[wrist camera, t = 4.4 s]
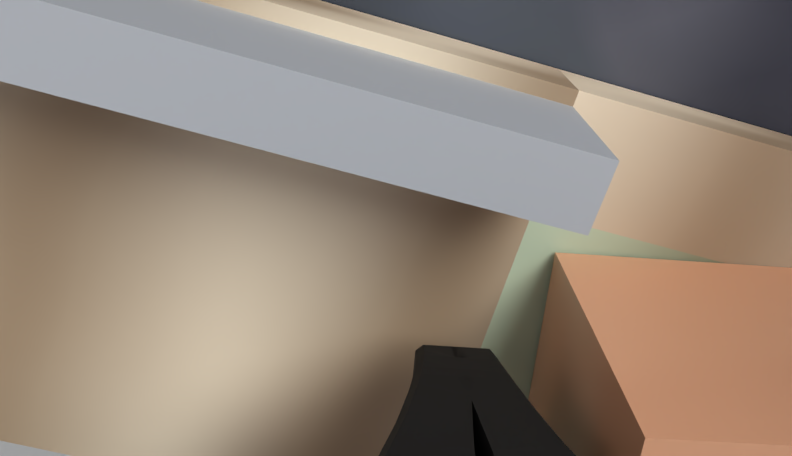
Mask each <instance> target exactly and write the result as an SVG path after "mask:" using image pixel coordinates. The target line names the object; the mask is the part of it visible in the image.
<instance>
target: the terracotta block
mask: <svg viewBox="0 0 792 456" xmlns="http://www.w3.org/2000/svg"><path fill="white" fill-rule="evenodd" d="M528 400H529V401H530V403H531V404H532V405H533V406H534V408H535V409H536V410H537V411H538V413H539V414H540V415H541V416H542V417H543V419H544V420H545V421H546V422H547V423H548V425H549V426H550V427H551V428H552V429H553V431H554V432H555V433H556V434H557V435H558V437H559V438H560V439H561V440H562V441H563V442H564V443H565V444H566V446H567V447H568V448H569V449H570V450H571V451H572V452H573V453H574V454H575V455H576V456H792V268H788V267H772V266H757V265H742V264H726V263H711V262H696V261H680V260H665V259H649V258H634V257H619V256H603V255H588V254H573V253H557V252H555V256H554V261H553V267H552V272H551V278H550V283H549V289H548V294H547V300H546V305H545V310H544V316H543V321H542V327H541V332H540V338H539V343H538V349H537V354H536V360H535V365H534V371H533V376H532V382H531V387H530V393H529V398H528Z"/></svg>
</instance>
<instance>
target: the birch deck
mask: <svg viewBox="0 0 792 456" xmlns="http://www.w3.org/2000/svg"><path fill="white" fill-rule="evenodd" d="M198 1H201V2H205V3H208V4H212V5H215V6H219V7H223V8H226V9H230V10H233V11H237V12H240V13H244V14H247V15H251V16H254V17H258V18H261V19H265V20H268V21H272V22H276V23H279V24H283V25H286V26H290V27H293V28H297V29H300V30H304V31H307V32H311V33H314V34H318V35H322V36H325V37H329V38H332V39H336V40H339V41H343V42H346V43H350V44H353V45H357V46H360V47H364V48H367V49H371V50H375V51H378V52H382V53H385V54H389V55H392V56H396V57H399V58H403V59H406V60H410V61H413V62H417V63H420V64H424V65H428V66H431V67H435V68H438V69H442V70H445V71H449V72H452V73H456V74H459V75H463V76H466V77H470V78H473V79H477V80H481V81H484V82H488V83H491V84H495V85H498V86H502V87H505V88H509V89H512V90H516V91H519V92H523V93H526V94H530V95H534V96H537V97H541V98H544V99H548V100H551V101H555V102H558V103H562V104H565V105H569V106H572V107H574V108H575V110H576V111H577V112H578V113H579V114H580V115H581V117H582V118H583V119H584V120H585V121H586V122H587V124H588V125H589V126H590V127H591V128H592V129H593V131H594V132H595V133H596V134H597V135H598V136H599V137H600V139H601V140H602V141H603V142H604V143H605V144H606V146H607V147H608V148H609V149H610V150H611V151H612V153H613V154H614V155H615V156H616V157H617V158H618V160H619V164H618V166H617V168H616V171H615V173H614V175H613V178H612V180H611V183H610V185H609V187H608V190H607V192H606V194H605V197H604V199H603V202H602V204H601V206H600V209H599V211H598V213H597V216H596V218H595V221H594V223H593V225H592V228H591V230H590V233H589V235H588V236H587V235H583V234H579V233H576V232H572V231H568V230H564V229H560V228H557V227H553V226H549V225H545V224H541V223H538V222H534V221H530V220H526V219H522V218H519V217H515V216H511V215H507V214H503V213H500V212H496V211H492V210H488V209H484V208H481V207H477V206H473V205H469V204H465V203H462V202H458V201H454V200H450V199H446V198H443V197H439V196H435V195H431V194H427V193H424V192H420V191H416V190H412V189H408V188H405V187H401V186H397V185H393V184H389V183H386V182H382V181H378V180H374V179H370V178H367V177H363V176H359V175H355V174H351V173H348V172H344V171H340V170H336V169H332V168H329V167H325V166H321V165H317V164H313V163H310V162H306V161H302V160H298V159H294V158H291V157H287V156H283V155H279V154H275V153H272V152H268V151H264V150H260V149H256V148H253V147H249V146H245V145H241V144H237V143H233V142H230V141H226V140H222V139H218V138H214V137H211V136H207V135H203V134H199V133H195V132H192V131H188V130H184V129H180V128H176V127H173V126H169V125H165V124H161V123H157V122H154V121H150V120H146V119H142V118H138V117H135V116H131V115H127V114H123V113H119V112H116V111H112V110H108V109H104V108H100V107H97V106H93V105H89V104H85V103H81V102H78V101H74V100H70V99H66V98H62V97H59V96H55V95H51V94H47V93H43V92H40V91H36V90H32V89H28V88H24V87H21V86H17V85H13V84H9V83H5V82H2V81H0V441H4V442H9V443H14V444H19V445H23V446H28V447H33V448H38V449H42V450H47V451H52V452H57V453H61V454H66V455H71V456H379V454H380V452H381V450H382V448H383V446H384V444H385V442H386V440H387V439H388V437H389V435H390V433H391V431H392V429H393V427H394V425H395V423H396V421H397V419H398V416H399V414H400V411H401V409H402V406H403V404H404V401H405V399H406V396H407V394H408V391H409V388H410V385H411V381H412V378H413V369H414V358H415V350H417V349H418V348H419V347H421V346H422V345H436V346H453V347H470V348H486V349H490V350H491V351H492V352H493V353H494V355H495V356H496V357H497V358H498V360H499V361H500V363H501V364H502V365H503V367H504V368H505V369H506V371H507V372H508V374H509V375H510V376H511V378H512V379H513V380H514V382H515V383H516V384H517V386H518V387H519V388H520V390H521V391H522V392H523V394H524V395H525V396H526V398H527V399H528V398H529V393H530V387H531V382H532V376H533V371H534V365H535V360H536V354H537V349H538V343H539V338H540V332H541V327H542V321H543V316H544V310H545V305H546V300H547V294H548V289H549V283H550V278H551V272H552V267H553V261H554V256H555V252H557V253H573V254H588V255H603V256H619V257H634V258H649V259H665V260H680V261H696V262H711V263H726V264H742V265H757V266H772V267H788V268H792V136H789V135H785V134H782V133H778V132H775V131H772V130H768V129H765V128H761V127H758V126H754V125H751V124H747V123H744V122H740V121H737V120H733V119H730V118H726V117H723V116H719V115H716V114H713V113H709V112H706V111H702V110H699V109H695V108H692V107H688V106H685V105H681V104H678V103H674V102H671V101H667V100H664V99H661V98H657V97H654V96H650V95H647V94H643V93H640V92H636V91H633V90H629V89H626V88H622V87H619V86H615V85H612V84H608V83H605V82H602V81H598V80H595V79H591V78H588V77H584V76H581V75H577V74H574V73H570V72H567V71H563V70H560V69H556V68H553V67H549V66H546V65H543V64H539V63H536V62H532V61H529V60H525V59H522V58H518V57H515V56H511V55H508V54H504V53H501V52H497V51H494V50H491V49H487V48H484V47H480V46H477V45H473V44H470V43H466V42H463V41H459V40H456V39H452V38H449V37H445V36H442V35H438V34H435V33H432V32H428V31H425V30H421V29H418V28H414V27H411V26H407V25H404V24H400V23H397V22H393V21H390V20H386V19H383V18H380V17H376V16H373V15H369V14H366V13H362V12H359V11H355V10H352V9H348V8H345V7H341V6H338V5H334V4H331V3H327V2H324V1H321V0H198Z"/></svg>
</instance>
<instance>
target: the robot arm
mask: <svg viewBox="0 0 792 456" xmlns="http://www.w3.org/2000/svg"><path fill="white" fill-rule="evenodd" d="M379 456H576V455H575V454H574V453H573V452H572V451H571V450H570V449H569V448H568V447H567V446H566V444H565V443H564V442H563V441H562V440H561V439H560V438H559V437H558V435H557V434H556V433H555V432H554V431H553V429H552V428H551V427H550V426H549V425H548V423H547V422H546V421H545V420H544V419H543V417H542V416H541V415H540V414H539V413H538V411H537V410H536V409H535V408H534V406H533V405H532V404H531V403H530V401H529V400H528V399H527V398H526V396H525V395H524V394H523V392H522V391H521V390H520V388H519V387H518V386H517V384H516V383H515V382H514V380H513V379H512V378H511V376H510V375H509V374H508V372H507V371H506V369H505V368H504V367H503V365H502V364H501V363H500V361H499V360H498V358H497V357H496V356H495V355H494V353H493V352H492V351H491V350H490V349H486V348H470V347H453V346H436V345H422V346H421V347H419V348H418V349H417V350H415V358H414V369H413V378H412V381H411V385H410V388H409V391H408V394H407V396H406V399H405V401H404V404H403V406H402V409H401V411H400V414H399V416H398V419H397V421H396V423H395V425H394V427H393V429H392V431H391V433H390V435H389V437H388V439H387V440H386V442H385V444H384V446H383V448H382V450H381V452H380V454H379Z"/></svg>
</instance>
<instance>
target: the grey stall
mask: <svg viewBox="0 0 792 456" xmlns="http://www.w3.org/2000/svg"><path fill="white" fill-rule="evenodd" d="M0 81H2V82H5V83H9V84H13V85H17V86H21V87H24V88H28V89H32V90H36V91H40V92H43V93H47V94H51V95H55V96H59V97H62V98H66V99H70V100H74V101H78V102H81V103H85V104H89V105H93V106H97V107H100V108H104V109H108V110H112V111H116V112H119V113H123V114H127V115H131V116H135V117H138V118H142V119H146V120H150V121H154V122H157V123H161V124H165V125H169V126H173V127H176V128H180V129H184V130H188V131H192V132H195V133H199V134H203V135H207V136H211V137H214V138H218V139H222V140H226V141H230V142H233V143H237V144H241V145H245V146H249V147H253V148H256V149H260V150H264V151H268V152H272V153H275V154H279V155H283V156H287V157H291V158H294V159H298V160H302V161H306V162H310V163H313V164H317V165H321V166H325V167H329V168H332V169H336V170H340V171H344V172H348V173H351V174H355V175H359V176H363V177H367V178H370V179H374V180H378V181H382V182H386V183H389V184H393V185H397V186H401V187H405V188H408V189H412V190H416V191H420V192H424V193H427V194H431V195H435V196H439V197H443V198H446V199H450V200H454V201H458V202H462V203H465V204H469V205H473V206H477V207H481V208H484V209H488V210H492V211H496V212H500V213H503V214H507V215H511V216H515V217H519V218H522V219H526V220H530V221H534V222H538V223H541V224H545V225H549V226H553V227H557V228H560V229H564V230H568V231H572V232H576V233H579V234H583V235H587V236H588V235H589V233H590V230H591V228H592V225H593V223H594V221H595V218H596V216H597V213H598V211H599V209H600V206H601V204H602V202H603V199H604V197H605V194H606V192H607V190H608V187H609V185H610V183H611V180H612V178H613V175H614V173H615V171H616V168H617V166H618V164H619V160H618V158H617V157H616V156H615V155H614V154H613V153H612V151H611V150H610V149H609V148H608V147H607V146H606V144H605V143H604V142H603V141H602V140H601V139H600V137H599V136H598V135H597V134H596V133H595V132H594V131H593V129H592V128H591V127H590V126H589V125H588V124H587V122H586V121H585V120H584V119H583V118H582V117H581V115H580V114H579V113H578V112H577V111H576V110H575V108H574V107H572V106H569V105H565V104H562V103H558V102H555V101H551V100H548V99H544V98H541V97H537V96H534V95H530V94H526V93H523V92H519V91H516V90H512V89H509V88H505V87H502V86H498V85H495V84H491V83H488V82H484V81H481V80H477V79H473V78H470V77H466V76H463V75H459V74H456V73H452V72H449V71H445V70H442V69H438V68H435V67H431V66H428V65H424V64H420V63H417V62H413V61H410V60H406V59H403V58H399V57H396V56H392V55H389V54H385V53H382V52H378V51H375V50H371V49H367V48H364V47H360V46H357V45H353V44H350V43H346V42H343V41H339V40H336V39H332V38H329V37H325V36H322V35H318V34H314V33H311V32H307V31H304V30H300V29H297V28H293V27H290V26H286V25H283V24H279V23H276V22H272V21H268V20H265V19H261V18H258V17H254V16H251V15H247V14H244V13H240V12H237V11H233V10H230V9H226V8H223V7H219V6H215V5H212V4H208V3H205V2H201V1H198V0H0ZM0 456H71V455H66V454H61V453H57V452H52V451H47V450H42V449H38V448H33V447H28V446H23V445H19V444H14V443H9V442H4V441H0Z"/></svg>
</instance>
